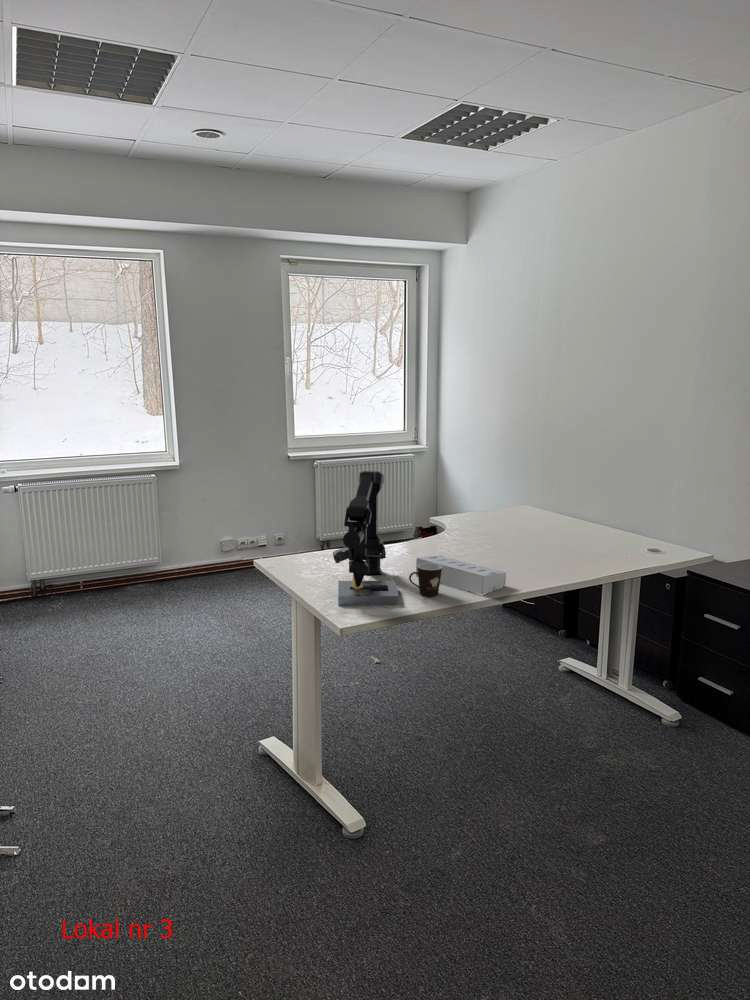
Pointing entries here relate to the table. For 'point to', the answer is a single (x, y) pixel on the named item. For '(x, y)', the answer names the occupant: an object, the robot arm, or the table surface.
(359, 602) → the keyhole plate
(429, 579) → the coffee mug
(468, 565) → the white power strip
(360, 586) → the peg
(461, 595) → the table surface
